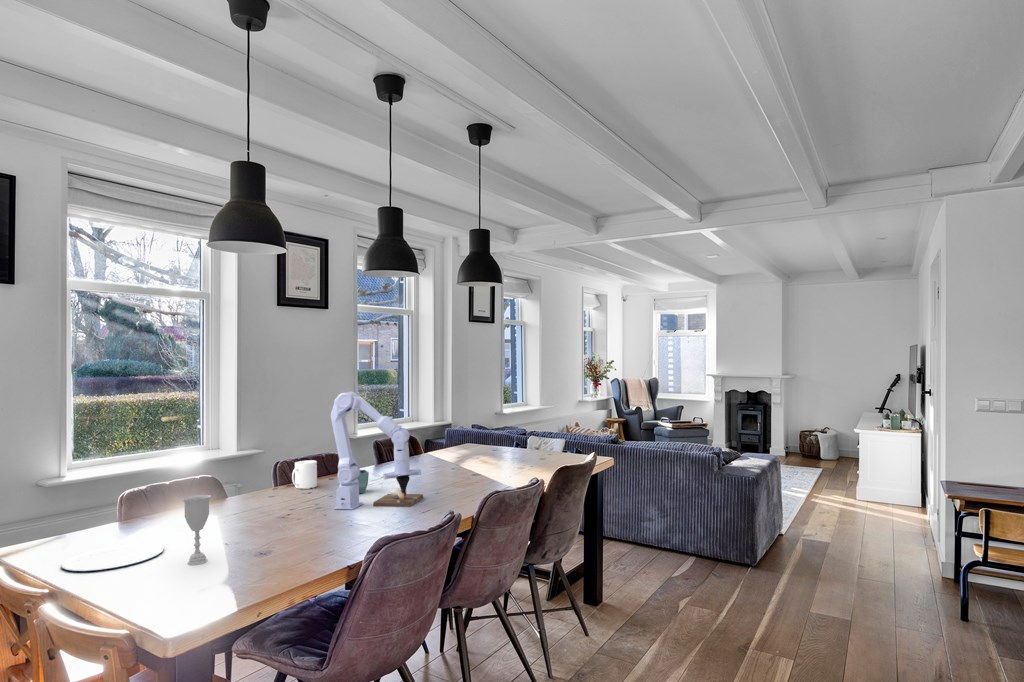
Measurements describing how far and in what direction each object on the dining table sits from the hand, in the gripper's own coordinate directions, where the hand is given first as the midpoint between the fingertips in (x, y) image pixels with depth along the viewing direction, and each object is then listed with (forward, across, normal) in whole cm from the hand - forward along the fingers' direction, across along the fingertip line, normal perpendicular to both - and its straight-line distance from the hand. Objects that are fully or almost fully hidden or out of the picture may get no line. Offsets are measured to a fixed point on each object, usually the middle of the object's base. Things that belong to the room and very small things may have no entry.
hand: (403, 495), depth 232 cm
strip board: (+4, 0, +6) cm, 7 cm away
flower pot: (+3, -10, +34) cm, 36 cm away
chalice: (+3, -70, -35) cm, 78 cm away
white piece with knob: (+1, -1, +3) cm, 3 cm away
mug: (+3, -29, +58) cm, 65 cm away
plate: (+2, -92, -17) cm, 93 cm away
